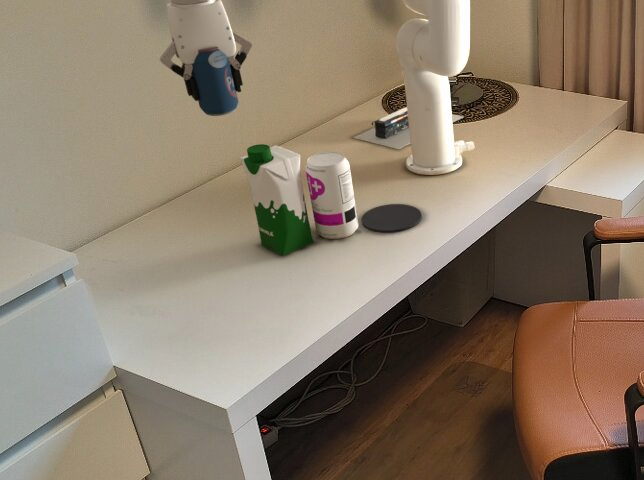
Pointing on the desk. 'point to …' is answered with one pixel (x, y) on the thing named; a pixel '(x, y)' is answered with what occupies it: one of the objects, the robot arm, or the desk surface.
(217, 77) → the soda can
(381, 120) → the white tray with gadget
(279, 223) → the soya milk
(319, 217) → the supplement can
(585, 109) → the desk surface
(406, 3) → the robot arm
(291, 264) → the desk surface
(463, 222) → the desk surface
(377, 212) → the coaster
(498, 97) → the desk surface
